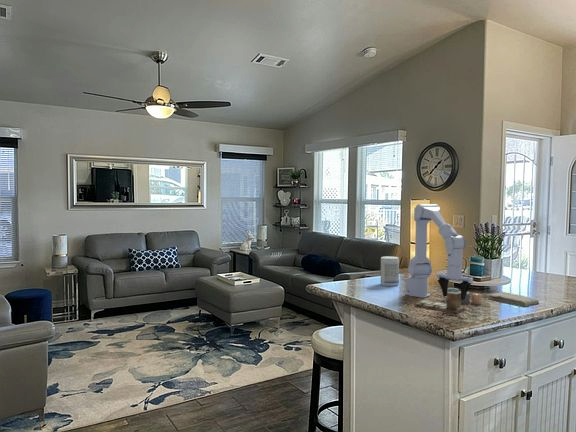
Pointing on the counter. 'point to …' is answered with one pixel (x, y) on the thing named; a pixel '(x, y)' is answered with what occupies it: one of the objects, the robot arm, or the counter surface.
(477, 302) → the peach round blob
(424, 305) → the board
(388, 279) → the supplement tub
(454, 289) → the teal spool
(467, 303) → the charcoal cube
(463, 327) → the counter surface
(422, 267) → the robot arm
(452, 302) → the walnut block
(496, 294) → the washcloth
